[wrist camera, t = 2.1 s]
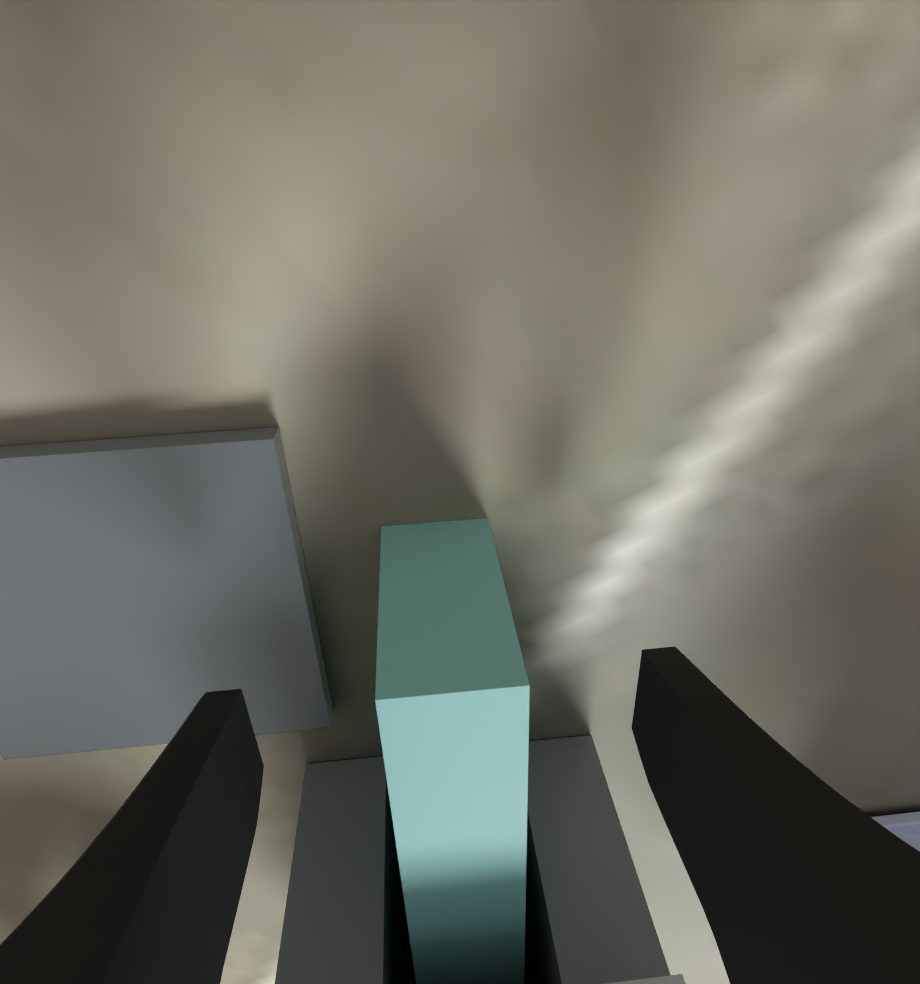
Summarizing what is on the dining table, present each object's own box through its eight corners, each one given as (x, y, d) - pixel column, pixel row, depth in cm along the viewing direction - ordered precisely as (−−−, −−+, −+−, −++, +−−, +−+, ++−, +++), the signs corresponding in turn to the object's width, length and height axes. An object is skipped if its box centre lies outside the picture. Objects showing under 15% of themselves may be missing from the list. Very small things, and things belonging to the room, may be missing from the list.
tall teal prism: (487, 514, 14) (530, 685, 10) (494, 818, 20) (523, 1019, 15) (381, 523, 14) (373, 700, 10) (416, 826, 20) (422, 1032, 15)
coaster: (278, 426, 13) (273, 439, 12) (332, 708, 17) (331, 727, 16) (-139, 456, 12) (-163, 470, 12) (16, 739, 16) (3, 759, 16)
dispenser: (592, 715, 18) (697, 1018, 12) (575, 914, 22) (642, 1202, 16) (301, 744, 17) (249, 1075, 11) (347, 941, 22) (329, 1248, 16)
